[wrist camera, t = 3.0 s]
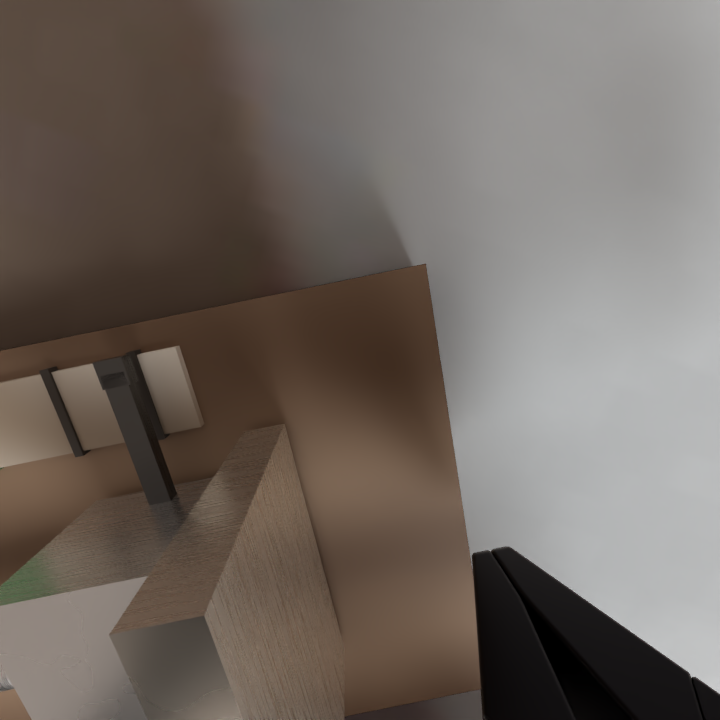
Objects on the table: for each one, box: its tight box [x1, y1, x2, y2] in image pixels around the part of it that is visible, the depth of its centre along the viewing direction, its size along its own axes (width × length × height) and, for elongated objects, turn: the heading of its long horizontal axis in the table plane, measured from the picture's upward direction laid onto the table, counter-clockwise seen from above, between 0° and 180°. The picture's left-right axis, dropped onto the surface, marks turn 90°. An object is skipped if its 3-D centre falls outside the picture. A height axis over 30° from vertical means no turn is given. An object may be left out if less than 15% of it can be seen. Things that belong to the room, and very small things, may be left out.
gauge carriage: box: [0, 354, 344, 720], centre depth 7 cm, size 9×9×5 cm
